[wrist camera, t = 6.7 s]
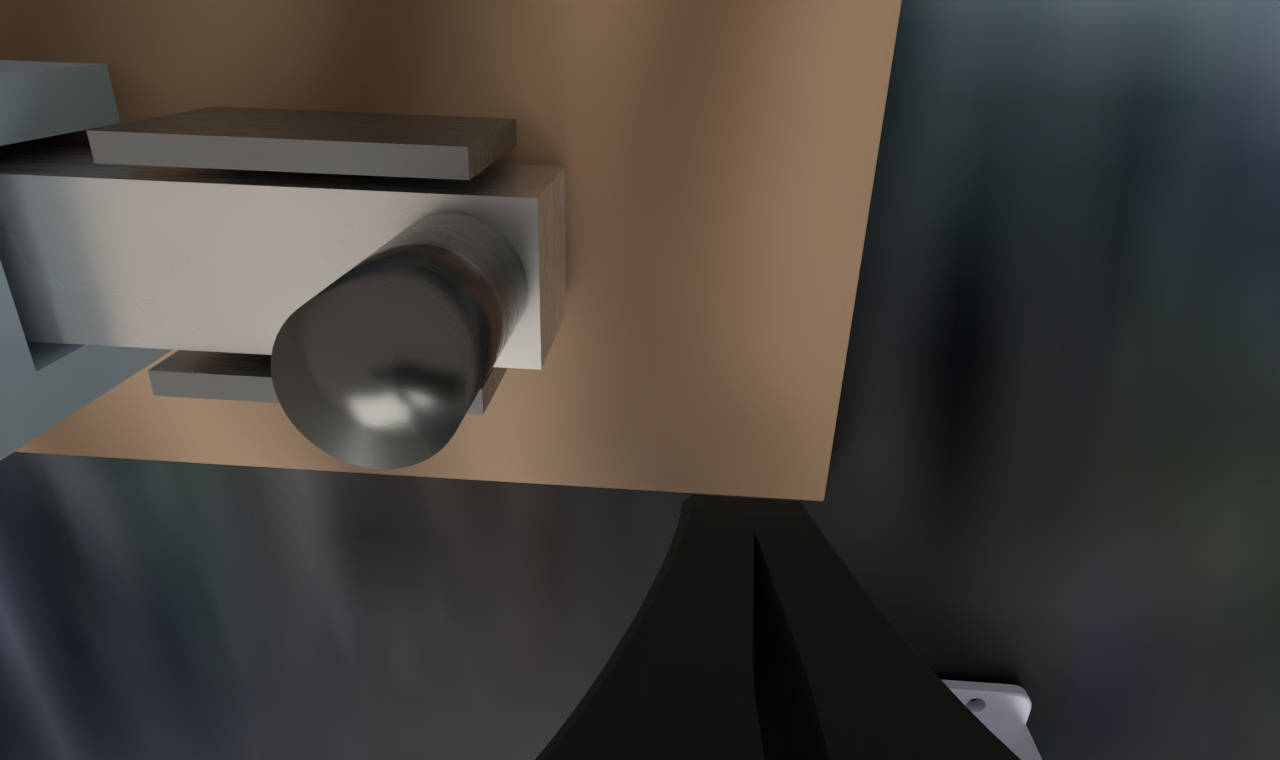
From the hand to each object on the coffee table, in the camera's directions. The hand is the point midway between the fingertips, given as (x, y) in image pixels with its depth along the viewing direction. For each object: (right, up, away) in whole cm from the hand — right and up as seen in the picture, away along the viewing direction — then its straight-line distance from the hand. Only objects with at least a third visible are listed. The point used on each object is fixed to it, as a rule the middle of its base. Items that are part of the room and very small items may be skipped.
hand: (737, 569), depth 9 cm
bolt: (-9, +5, +7) cm, 12 cm away
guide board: (-7, +6, +8) cm, 12 cm away
